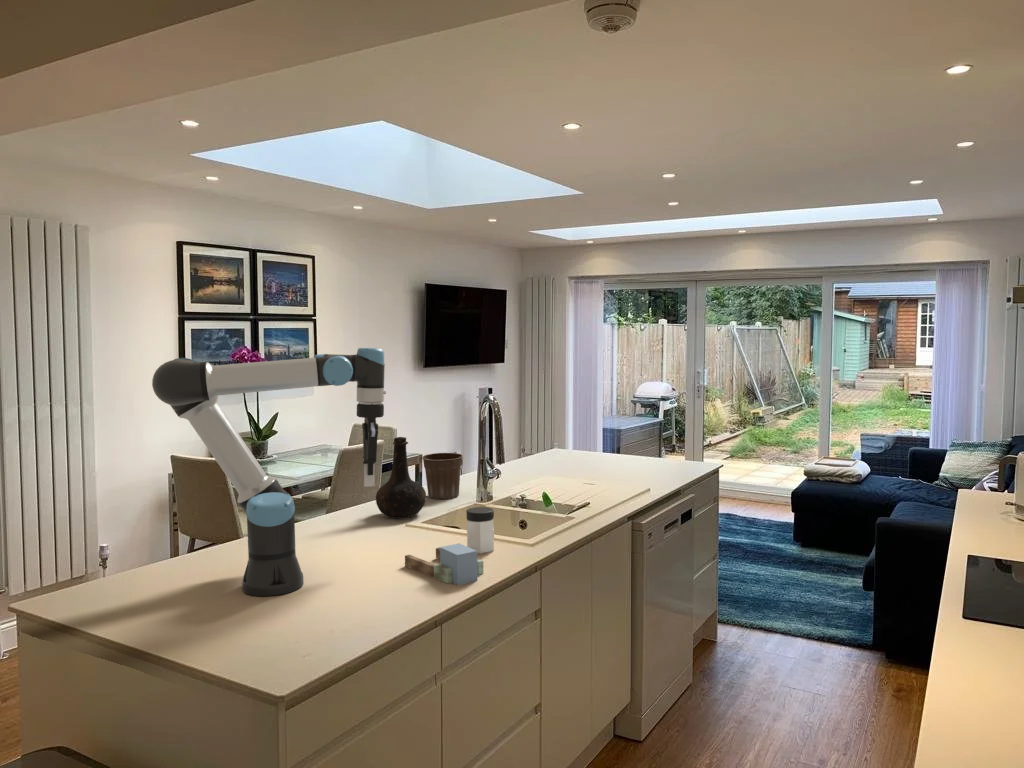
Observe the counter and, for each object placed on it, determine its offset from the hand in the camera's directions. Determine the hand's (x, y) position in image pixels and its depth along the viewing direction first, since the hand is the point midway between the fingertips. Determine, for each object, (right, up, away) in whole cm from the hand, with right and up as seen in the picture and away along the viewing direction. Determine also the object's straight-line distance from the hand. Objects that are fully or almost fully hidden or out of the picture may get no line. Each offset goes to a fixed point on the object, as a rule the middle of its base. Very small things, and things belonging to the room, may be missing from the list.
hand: (369, 485), depth 217 cm
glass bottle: (+1, -18, +56) cm, 59 cm away
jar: (+31, -21, +12) cm, 39 cm away
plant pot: (+13, -16, +86) cm, 89 cm away
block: (+26, -23, -14) cm, 37 cm away
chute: (+22, -22, -7) cm, 32 cm away
